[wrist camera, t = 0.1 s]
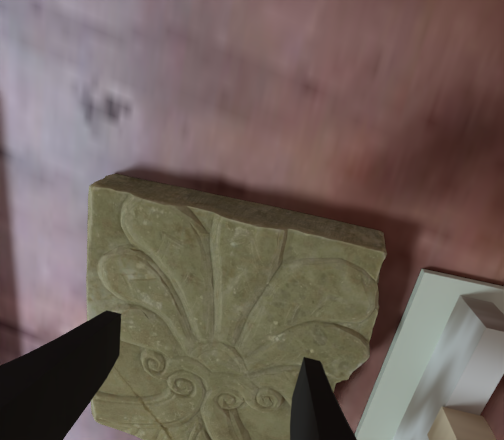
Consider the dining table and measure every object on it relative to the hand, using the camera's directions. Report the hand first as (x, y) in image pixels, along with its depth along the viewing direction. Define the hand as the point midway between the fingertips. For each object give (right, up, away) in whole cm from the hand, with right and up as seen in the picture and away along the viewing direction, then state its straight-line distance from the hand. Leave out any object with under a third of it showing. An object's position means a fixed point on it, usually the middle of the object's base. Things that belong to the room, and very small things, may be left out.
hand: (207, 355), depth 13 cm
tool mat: (+14, -6, +11) cm, 19 cm away
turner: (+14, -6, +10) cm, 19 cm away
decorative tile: (0, -3, +13) cm, 13 cm away
